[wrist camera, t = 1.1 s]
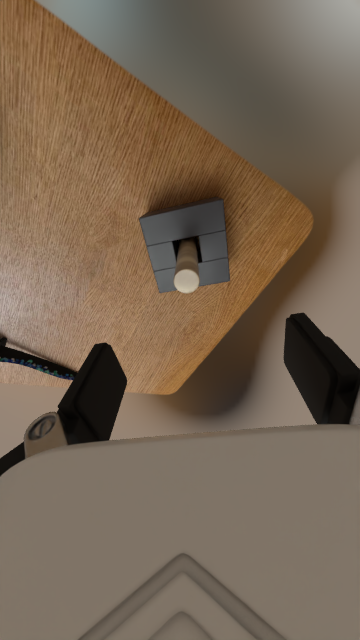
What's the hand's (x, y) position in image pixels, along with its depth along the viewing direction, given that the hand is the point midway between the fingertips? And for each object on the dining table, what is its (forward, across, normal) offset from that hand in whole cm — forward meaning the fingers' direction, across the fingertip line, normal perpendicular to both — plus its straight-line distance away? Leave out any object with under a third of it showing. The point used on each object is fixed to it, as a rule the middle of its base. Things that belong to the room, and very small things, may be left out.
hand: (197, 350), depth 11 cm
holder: (+25, +1, 0) cm, 25 cm away
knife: (+26, +41, +14) cm, 50 cm away
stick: (+25, +1, 0) cm, 25 cm away
